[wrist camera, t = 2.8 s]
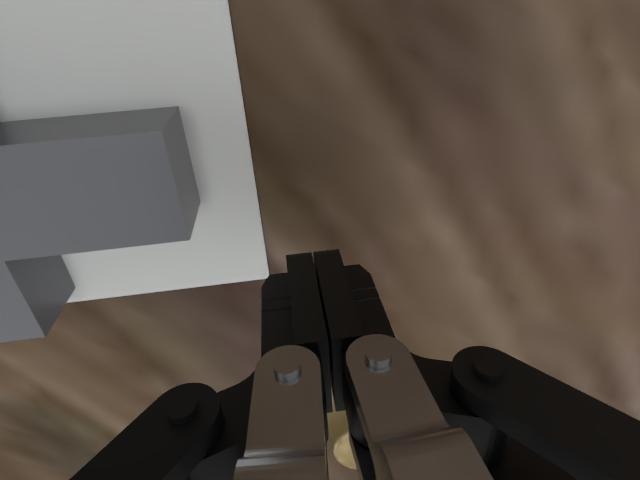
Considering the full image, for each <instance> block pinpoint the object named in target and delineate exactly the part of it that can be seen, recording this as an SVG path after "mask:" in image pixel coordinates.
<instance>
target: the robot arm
mask: <svg viewBox="0 0 640 480" xmlns="http://www.w3.org/2000/svg"><path fill="white" fill-rule="evenodd" d="M286 260H287V271H288V273H281V274H272V275H269V276H268V278H267V279H266V281H265V282H264V284H263V286H262V336H261V358H260V360H259V361H258V363H257V365H256V367H255V371H254V372H253V373H252V374H251V375H250V376H249V377H248V378H246V379H245V380H244V381H242V382H240V383H239V384H236V385H234V386H232V387H230V388H227V389H225V390H222V391H220V392H218V393H216V391H215V390H214V389H213V388H211V387H210V386H208V385H205V384H201V383H187V384H182V385H179V386H176V387H174V388H172V389H170V390H168V391H167V392H165V393H164V394H162V395H161V396H160V397H159V398H158V399H157V400H156V401H154V402H153V403H152V404H151V405H150V406H149V407H148V408H147V409H146V410H145V411H144V412H143V413H141V414H140V415H139V416H138V417H137V418H136V419H135V420H134V421H133V422H132V423H131V424H129V425H128V426H127V427H126V428H125V429H124V430H123V431H122V432H121V433H120V434H119V435H117V436H116V437H115V438H114V439H113V440H112V441H111V442H110V443H109V444H108V445H107V446H106V447H104V448H103V449H102V450H101V451H100V452H99V453H98V454H97V455H96V456H95V457H94V458H92V459H91V460H90V461H89V462H88V463H87V464H86V465H85V466H84V467H83V468H82V469H80V470H79V471H78V472H77V473H76V474H75V475H74V476H73V477H72V478H71V479H70V480H329V472H328V456H327V440H328V435H329V432H328V418H327V413H331V412H333V405H332V394H333V399H334V405H335V411H336V412H337V411H344V410H345V411H346V416H347V421H348V431H349V443H350V447H351V450H352V454H353V457H354V461H355V464H356V468H357V472H358V475H359V479H360V480H640V421H639V420H637V419H635V418H633V417H631V416H629V415H627V414H625V413H623V412H621V411H619V410H617V409H615V408H613V407H611V406H609V405H607V404H605V403H603V402H601V401H599V400H597V399H595V398H593V397H591V396H589V395H587V394H585V393H583V392H581V391H579V390H577V389H575V388H573V387H571V386H569V385H567V384H565V383H563V382H561V381H559V380H557V379H555V378H553V377H551V376H549V375H547V374H545V373H543V372H541V371H539V370H538V369H536V368H534V367H532V366H530V365H528V364H526V363H524V362H522V361H520V360H518V359H516V358H514V357H512V356H510V355H508V354H506V353H504V352H502V351H499V350H497V349H494V348H490V347H484V346H473V347H468V348H465V349H463V350H461V351H459V352H458V353H457V354H456V355H455V356H454V358H453V361H452V362H450V361H442V360H434V359H428V358H423V357H420V356H417V355H415V354H412V353H411V352H409V350H408V349H407V347H406V346H405V345H404V344H403V343H402V342H400V341H399V340H397V339H396V338H395V336H394V333H393V331H392V328H391V325H390V323H389V320H388V318H387V315H386V313H385V310H384V308H383V305H382V302H381V300H380V299H379V295H378V292H377V290H376V289H375V284H374V282H373V279H372V277H371V274H370V273H369V272H367V271H366V270H365V269H364V268H363V267H362V266H360V265H359V264H358V265H349V266H344V265H343V261H342V258H341V255H340V252H339V249H336V250H327V251H318V252H313V258H312V253H311V252H310V253H301V254H292V255H286ZM313 260H314V263H313ZM331 388H332V390H331Z"/></svg>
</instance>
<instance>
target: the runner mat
mask: <svg viewBox="0 0 640 480" xmlns="http://www.w3.org/2000/svg"><path fill="white" fill-rule="evenodd" d="M175 106H179V110H180V115H181V119H182V123H183V128H184V132H185V136H186V141H187V145H188V149H189V154H190V158H191V162H192V167H193V171H194V175H195V180H196V184H197V188H198V193H199V197H200V201H201V202H200V206H199V209H198V213H197V217H196V220H195V224H194V228H193V231H192V235H191V239H190V240H188V241H179V242H170V243H161V244H152V245H144V246H135V247H126V248H117V249H108V250H100V251H91V252H82V253H73V254H64V255H61V256H62V259H63V261H64V263H65V265H66V267H67V270H68V272H69V274H70V276H71V278H72V280H73V283H74V285H75V287H76V288H75V290H74V291H73V293H72V294H71V296H70V298H69V299H68V301H67V303H69V302H77V301H85V300H94V299H102V298H110V297H119V296H127V295H135V294H143V293H152V292H160V291H168V290H176V289H185V288H193V287H201V286H209V285H218V284H226V283H234V282H242V281H251V280H259V279H267V278H268V276H269V269H268V262H267V256H266V249H265V243H264V236H263V229H262V223H261V216H260V209H259V203H258V196H257V190H256V183H255V176H254V170H253V163H252V156H251V150H250V143H249V137H248V130H247V123H246V117H245V110H244V104H243V97H242V90H241V84H240V77H239V70H238V64H237V57H236V51H235V44H234V37H233V31H232V24H231V17H230V11H229V4H228V0H0V122H7V121H18V120H29V119H40V118H51V117H63V116H74V115H85V114H96V113H107V112H119V111H130V110H141V109H152V108H163V107H175Z"/></svg>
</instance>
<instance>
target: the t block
mask: <svg viewBox="0 0 640 480" xmlns="http://www.w3.org/2000/svg"><path fill="white" fill-rule="evenodd" d="M200 202H201V201H200V197H199V193H198V188H197V184H196V180H195V175H194V171H193V167H192V162H191V158H190V154H189V149H188V145H187V141H186V136H185V132H184V128H183V123H182V119H181V115H180V110H179V106H175V107H163V108H152V109H141V110H130V111H119V112H107V113H96V114H85V115H74V116H63V117H51V118H40V119H29V120H18V121H7V122H0V343H1V342H9V341H17V340H25V339H32V338H40V337H46V335H47V333H48V332H49V330H50V329H51V327H52V325H53V324H54V322H55V320H56V319H57V317H58V316H59V314H60V312H61V311H62V309H63V307H64V306H65V304H66V303H67V301H68V299H69V298H70V296H71V294H72V293H73V291H74V290H75V288H76V287H75V285H74V283H73V280H72V278H71V276H70V274H69V272H68V270H67V267H66V265H65V263H64V261H63V259H62V256H61V255H64V254H73V253H82V252H91V251H100V250H108V249H117V248H126V247H135V246H144V245H152V244H161V243H170V242H179V241H188V240H190V239H191V235H192V231H193V228H194V224H195V220H196V217H197V213H198V209H199V206H200Z"/></svg>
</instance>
